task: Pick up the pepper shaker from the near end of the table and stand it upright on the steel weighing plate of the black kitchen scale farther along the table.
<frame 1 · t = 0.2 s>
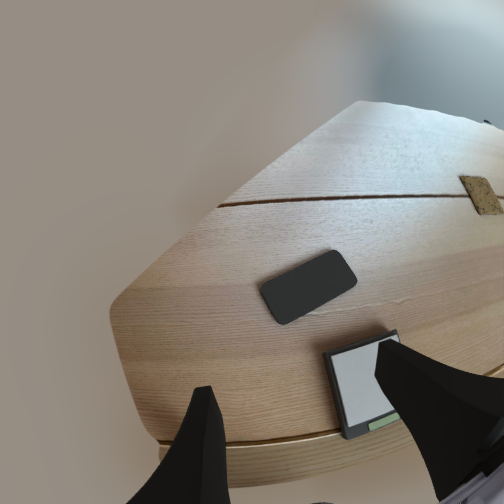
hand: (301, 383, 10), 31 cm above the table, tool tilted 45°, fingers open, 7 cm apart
cookie: (482, 196, 53), on the table
scale: (369, 384, 37), on the table
phone: (309, 287, 45), on the table
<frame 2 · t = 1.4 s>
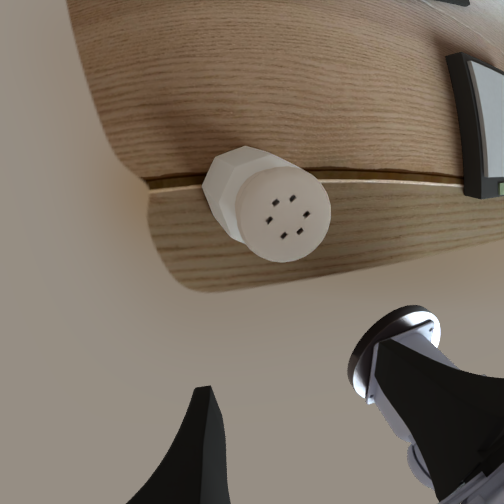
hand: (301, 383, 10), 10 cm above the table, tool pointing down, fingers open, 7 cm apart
scale: (488, 128, 19), on the table
pepper shaker: (243, 186, 18), on the table
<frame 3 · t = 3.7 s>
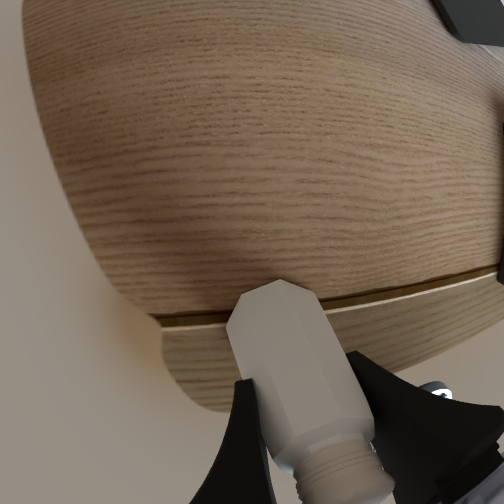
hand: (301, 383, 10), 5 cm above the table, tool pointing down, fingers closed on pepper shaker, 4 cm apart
pepper shaker: (274, 321, 15), on the table, touching gripper
phone: (475, 11, 10), on the table
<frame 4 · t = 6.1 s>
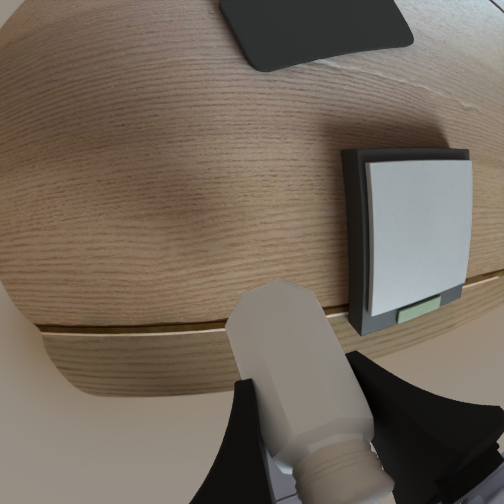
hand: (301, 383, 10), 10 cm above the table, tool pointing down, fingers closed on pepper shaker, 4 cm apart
scale: (408, 231, 21), on the table
pepper shaker: (273, 321, 15), point 5 cm above the table, touching gripper
phone: (325, 16, 15), on the table
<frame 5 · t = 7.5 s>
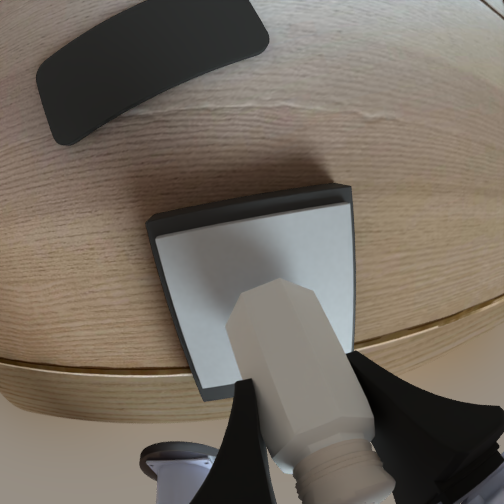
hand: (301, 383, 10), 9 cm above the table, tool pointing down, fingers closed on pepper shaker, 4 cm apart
scale: (262, 295, 20), on the table
pepper shaker: (274, 320, 15), point 4 cm above the table, touching gripper
phone: (143, 51, 13), on the table
when the fingers open (8 cm above the table, at t = 8.5 s): pepper shaker stays where it is, resting on scale.
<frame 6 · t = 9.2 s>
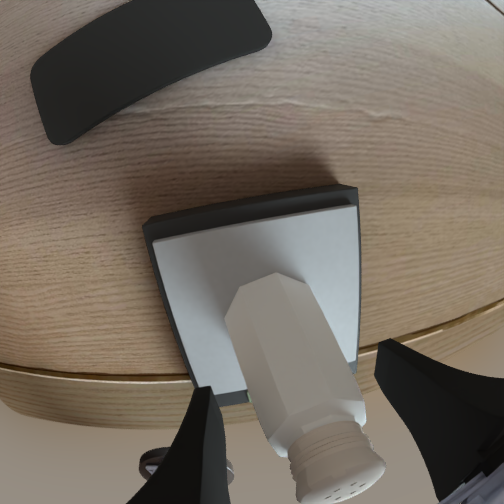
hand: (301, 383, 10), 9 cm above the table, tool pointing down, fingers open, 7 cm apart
scale: (264, 301, 19), on the table
pepper shaker: (271, 313, 16), point 3 cm above the table, touching scale
phone: (141, 46, 13), on the table
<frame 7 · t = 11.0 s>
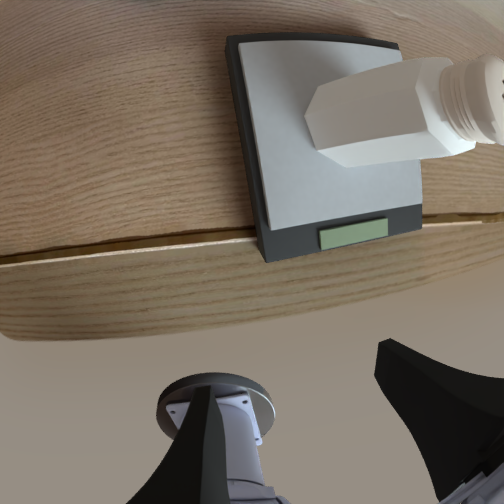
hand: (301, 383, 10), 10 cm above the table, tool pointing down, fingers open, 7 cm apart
scale: (329, 137, 17), on the table
pepper shaker: (345, 123, 15), point 3 cm above the table, touching scale
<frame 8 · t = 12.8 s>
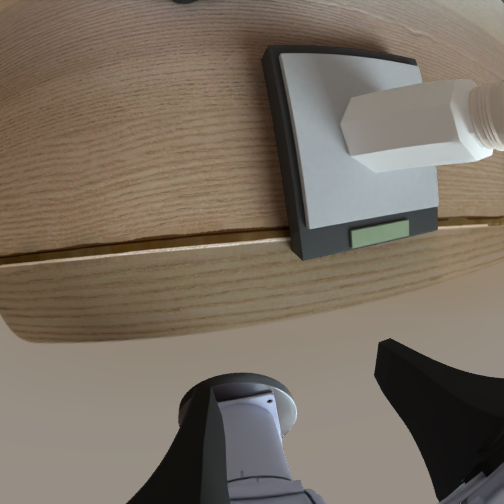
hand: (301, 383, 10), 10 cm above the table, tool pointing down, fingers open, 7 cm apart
scale: (355, 145, 19), on the table
pepper shaker: (373, 132, 16), point 3 cm above the table, touching scale
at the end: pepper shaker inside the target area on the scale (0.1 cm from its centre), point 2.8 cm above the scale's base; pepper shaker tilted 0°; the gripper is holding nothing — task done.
